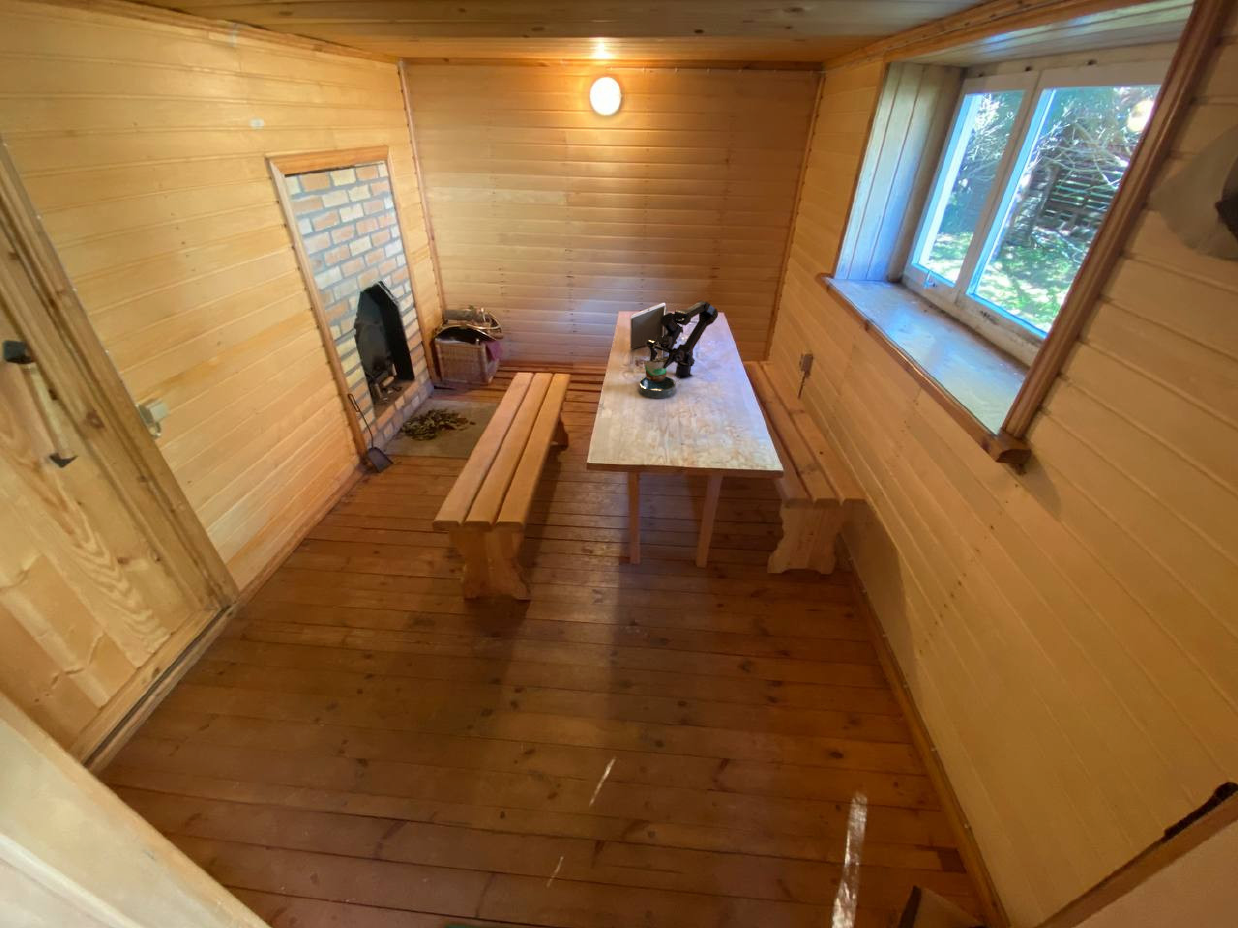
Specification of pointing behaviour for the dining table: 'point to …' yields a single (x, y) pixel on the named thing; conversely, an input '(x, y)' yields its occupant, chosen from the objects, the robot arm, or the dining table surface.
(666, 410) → the dining table surface
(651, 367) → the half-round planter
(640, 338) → the silver laptop
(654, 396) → the bowl
